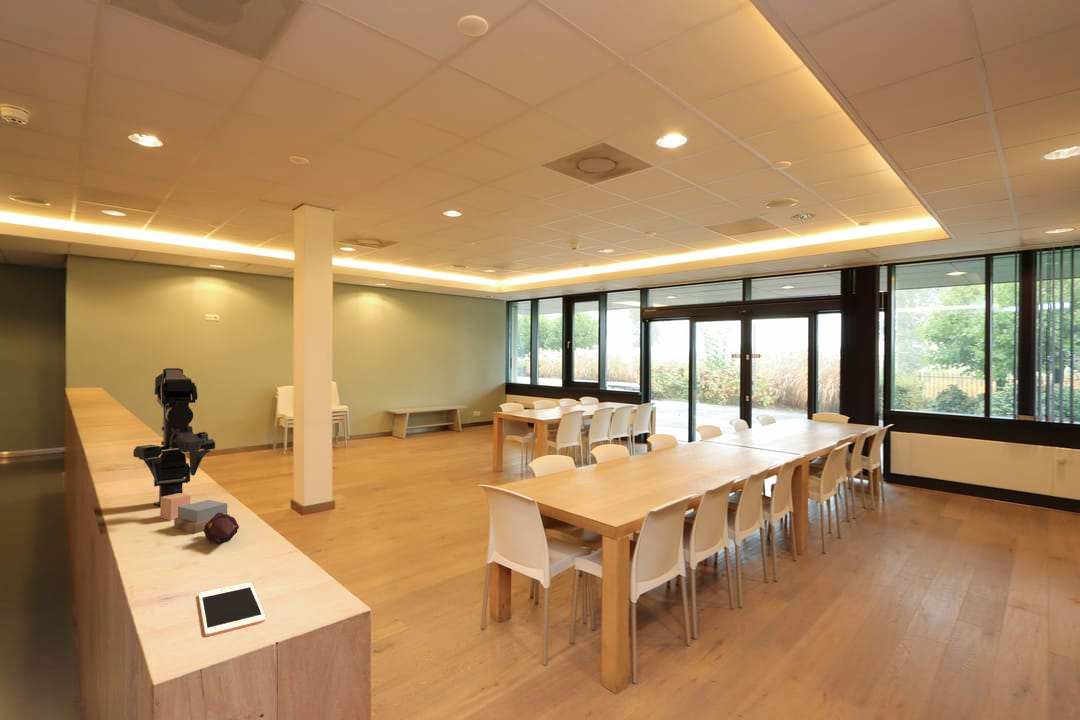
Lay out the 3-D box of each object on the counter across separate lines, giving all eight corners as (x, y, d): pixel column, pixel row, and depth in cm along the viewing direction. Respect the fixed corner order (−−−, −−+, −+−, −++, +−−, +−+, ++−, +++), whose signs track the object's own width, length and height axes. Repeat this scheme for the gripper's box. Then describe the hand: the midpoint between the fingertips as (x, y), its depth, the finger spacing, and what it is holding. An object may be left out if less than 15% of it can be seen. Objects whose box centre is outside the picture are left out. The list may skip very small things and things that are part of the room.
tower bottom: (174, 529, 136) (174, 518, 136) (208, 520, 144) (209, 510, 144) (194, 535, 132) (195, 523, 132) (229, 525, 140) (229, 514, 140)
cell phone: (251, 586, 103) (251, 581, 103) (266, 624, 89) (266, 618, 89) (198, 597, 98) (198, 592, 98) (205, 639, 83) (205, 634, 83)
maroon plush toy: (247, 520, 124) (236, 510, 135) (212, 517, 119) (203, 508, 131) (239, 550, 122) (228, 538, 133) (203, 548, 118) (195, 536, 129)
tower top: (177, 518, 136) (178, 506, 136) (207, 510, 143) (208, 499, 143) (197, 522, 133) (197, 510, 133) (227, 514, 140) (227, 503, 140)
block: (160, 518, 144) (160, 496, 144) (179, 513, 148) (179, 492, 148) (170, 521, 141) (171, 499, 141) (189, 516, 146) (190, 495, 146)
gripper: (156, 428, 133) (155, 489, 133) (227, 421, 150) (226, 475, 150) (132, 425, 138) (131, 484, 138) (204, 419, 154) (203, 471, 154)
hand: (175, 478), depth 145 cm, fingers open, 9 cm apart
